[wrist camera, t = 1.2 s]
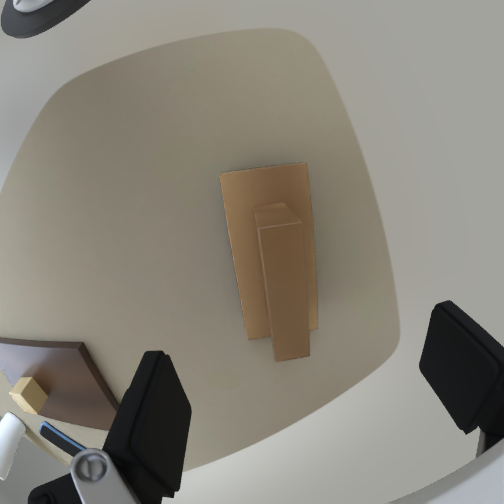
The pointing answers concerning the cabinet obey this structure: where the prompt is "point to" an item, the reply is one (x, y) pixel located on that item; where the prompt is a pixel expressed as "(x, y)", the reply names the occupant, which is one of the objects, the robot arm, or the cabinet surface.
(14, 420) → the drinking glass
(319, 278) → the cabinet surface
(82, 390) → the book
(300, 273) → the brown block with base
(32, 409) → the cream foam cube
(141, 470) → the robot arm
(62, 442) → the smartphone
